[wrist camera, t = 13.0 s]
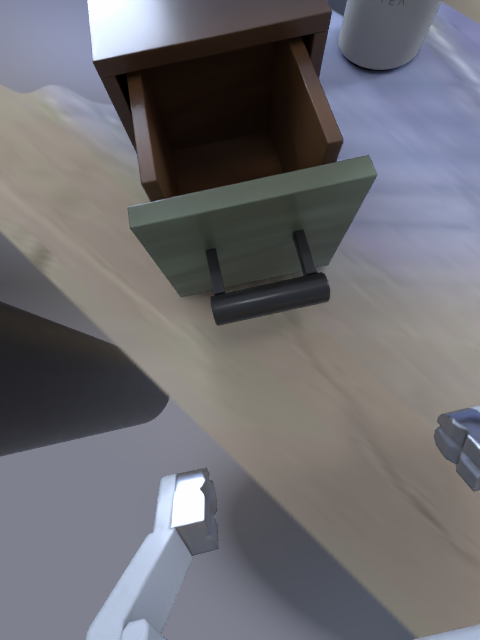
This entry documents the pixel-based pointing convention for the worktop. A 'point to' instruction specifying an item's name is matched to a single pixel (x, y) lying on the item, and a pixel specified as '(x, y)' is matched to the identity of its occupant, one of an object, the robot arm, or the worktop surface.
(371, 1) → the travel mug
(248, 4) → the storage box
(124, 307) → the worktop surface
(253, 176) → the drawer
